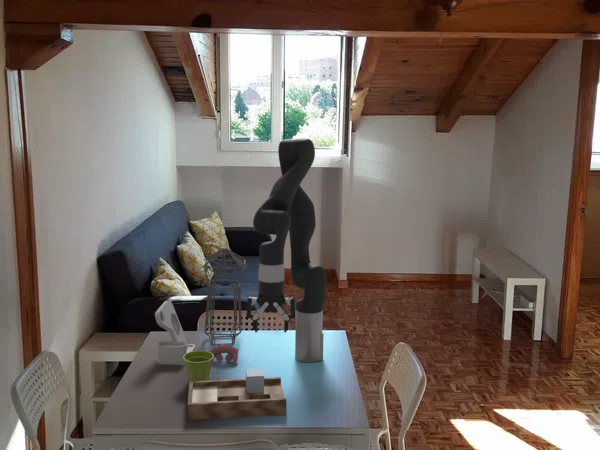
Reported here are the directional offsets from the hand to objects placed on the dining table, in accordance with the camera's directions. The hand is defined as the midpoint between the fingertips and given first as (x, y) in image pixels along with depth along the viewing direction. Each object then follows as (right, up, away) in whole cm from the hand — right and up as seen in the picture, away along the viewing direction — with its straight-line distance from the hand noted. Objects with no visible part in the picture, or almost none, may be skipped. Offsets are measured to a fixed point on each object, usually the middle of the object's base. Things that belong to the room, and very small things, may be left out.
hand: (270, 331), depth 180 cm
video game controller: (-17, -15, +26) cm, 35 cm away
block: (-5, -17, -1) cm, 17 cm away
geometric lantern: (-19, -12, +47) cm, 52 cm away
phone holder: (-34, -14, +32) cm, 49 cm away
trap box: (-9, -20, -4) cm, 23 cm away
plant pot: (-23, -18, +10) cm, 31 cm away
